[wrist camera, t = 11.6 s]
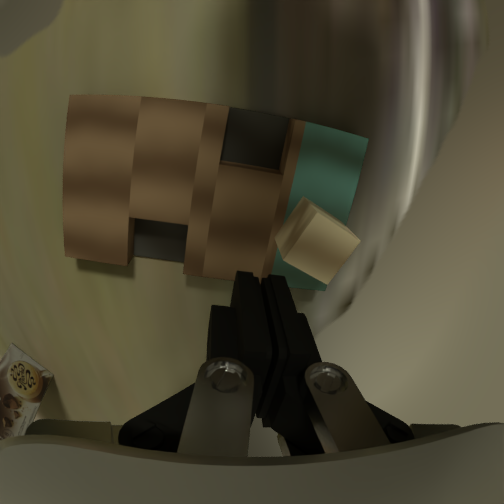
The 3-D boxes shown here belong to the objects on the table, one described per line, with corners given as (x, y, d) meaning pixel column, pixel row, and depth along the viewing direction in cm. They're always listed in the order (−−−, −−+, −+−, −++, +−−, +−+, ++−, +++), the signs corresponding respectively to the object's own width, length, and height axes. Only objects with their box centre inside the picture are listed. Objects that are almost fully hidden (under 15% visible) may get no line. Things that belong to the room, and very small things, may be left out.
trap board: (82, 95, 26) (69, 94, 23) (356, 135, 30) (368, 138, 28) (75, 245, 33) (65, 256, 30) (318, 277, 37) (325, 291, 35)
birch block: (303, 195, 30) (317, 212, 25) (341, 221, 31) (360, 241, 27) (274, 237, 31) (283, 260, 27) (313, 260, 33) (327, 284, 28)
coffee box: (4, 358, 40) (-33, 425, 25) (12, 341, 38) (-31, 413, 24) (44, 389, 43) (15, 459, 28) (55, 374, 41) (22, 451, 27)
